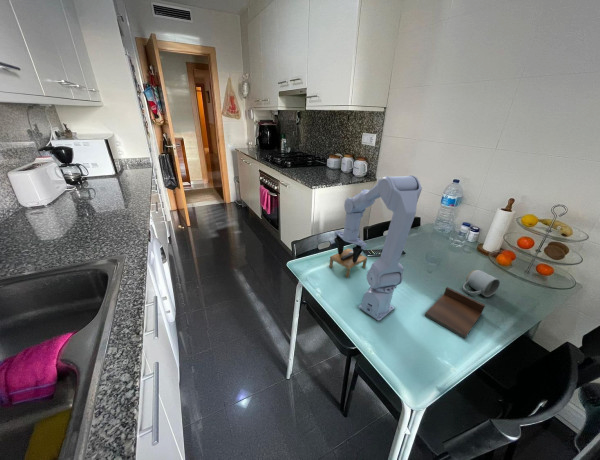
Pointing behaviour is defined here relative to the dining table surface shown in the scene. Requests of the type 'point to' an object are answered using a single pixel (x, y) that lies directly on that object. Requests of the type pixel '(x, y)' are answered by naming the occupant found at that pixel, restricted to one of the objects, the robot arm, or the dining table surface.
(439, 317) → the lower shelf
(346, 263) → the upper shelf
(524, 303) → the dining table surface
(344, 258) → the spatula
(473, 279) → the ceramic mug
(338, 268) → the dining table surface
